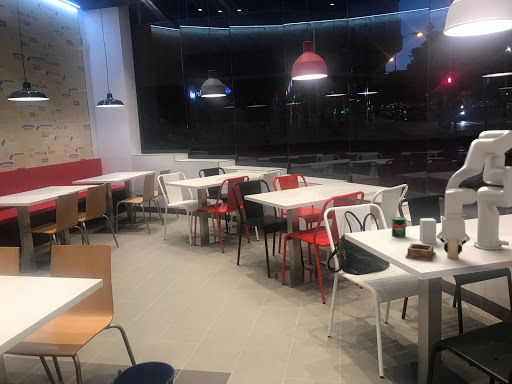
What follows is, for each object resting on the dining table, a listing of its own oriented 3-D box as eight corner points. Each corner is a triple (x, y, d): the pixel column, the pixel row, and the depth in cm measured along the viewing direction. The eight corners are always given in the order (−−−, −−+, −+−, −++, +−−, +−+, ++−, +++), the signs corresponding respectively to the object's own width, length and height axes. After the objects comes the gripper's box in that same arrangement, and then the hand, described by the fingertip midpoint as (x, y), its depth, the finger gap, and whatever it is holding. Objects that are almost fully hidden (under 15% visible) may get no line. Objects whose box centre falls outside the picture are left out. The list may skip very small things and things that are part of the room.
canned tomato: (396, 238, 231) (396, 219, 229) (389, 235, 238) (389, 217, 237) (408, 236, 232) (408, 218, 231) (400, 233, 240) (400, 216, 238)
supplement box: (436, 243, 217) (436, 220, 215) (422, 243, 218) (422, 220, 217) (433, 239, 224) (433, 217, 222) (419, 239, 226) (419, 218, 224)
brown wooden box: (435, 253, 198) (435, 245, 198) (431, 260, 188) (431, 251, 188) (410, 251, 205) (410, 242, 204) (405, 257, 195) (405, 248, 194)
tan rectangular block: (459, 256, 192) (459, 236, 191) (458, 259, 188) (458, 238, 187) (447, 254, 195) (448, 235, 194) (446, 257, 191) (446, 237, 189)
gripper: (474, 215, 187) (473, 252, 190) (435, 213, 196) (435, 248, 199) (473, 218, 181) (472, 256, 184) (433, 216, 190) (432, 252, 193)
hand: (452, 252), depth 191 cm, fingers closed on tan rectangular block, 5 cm apart
